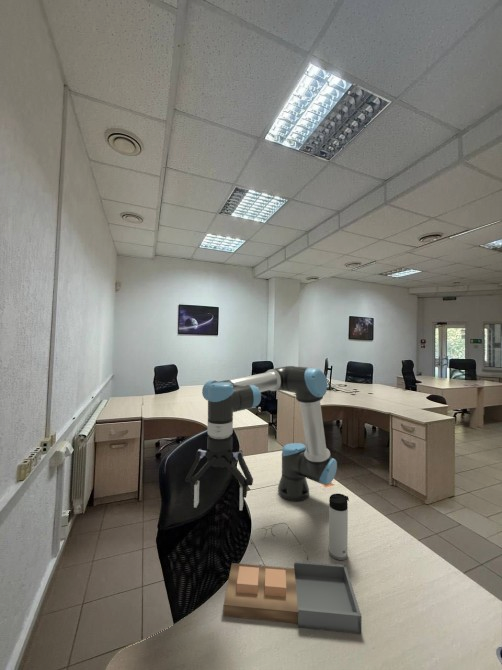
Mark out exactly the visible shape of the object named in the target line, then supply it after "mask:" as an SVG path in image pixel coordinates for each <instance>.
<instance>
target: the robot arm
mask: <svg viewBox="0 0 502 670" xmlns="http://www.w3.org/2000/svg"><path fill="white" fill-rule="evenodd" d="M327 387H328V380H327V377H326V375H325V373H324V371H322V370H321V369H320V368H315V367H306V366H295V365H288V366H287V365H286V366H280V367H276V368H272V369H268V370H267V371H265V372H262V373H258V374H253V375H248V376H242V377H235V378H230V379H225V380H220V381H219V380H218V381H217V380H208V381H206V383H204V384H203V386H202V390H201V391H202V393H201V395H202V397H203V398H204V399H205V400H206V401H207V441H206V450H203V449H202V448H199V449H198V450H197V451H196V452H195V460H194V461H193V463H192V465H191V467H190V469H189V471H188V473H187V474H186V476H185V479H184V481H185V482H186V483H190V485H191V486H190V494H191V495H194V496H193V497H194V498H193V508H197V507H198V506H199V503H200V480H199V479H200V478H201V477H202V476H203V475H204V474H205V472H206V471H208V470H209V468H210V467H211V466H212V467H213V468H223V469H224V468H225V467H226V468H227V470H229V471H230V473H232V475H233V476H234V477H235V479H236V480H237V481H238V483H239V484H240V486H239V511H243V507H244V499H245V498H246V497H247V495H248V487H249V486H250V487H251V486H253V485H254V484H253V482H254V477H253V476H252V474H251V472H250V469H249V467H248V465H247V462H246V461H245V459H244V454H243V450H239V451H234V450H233V435H232V434H233V432H234V431H233V429H234V427H233V423H234V422H233V420H234V413H236V412H241V411H245V410H250V409H253V408H255V407H257V406H259V405H260V403H261V400H262V393H263V392H266V391H271V392H276V391H284V392H290V393H294V394H295V399H296V401H297V402H298V403H300V410H301V417H302V423H303V431H304V432H303V433H304V439H305V444H306V445H305V444H303V443H299V442H291V443H287V444H285V445H283V446H282V450H281V477H280V480H279V483H278V485H277V486H278V487H277V492H279V493H278V495H279V494H280V495H281V496H282V497H281V496H280V495H279V496H280V497H281V498H282V499H284V498H285V499H284V500H287V501H290V502H300V501H304V500H307V499H308V498H309V497H310V487H309V485H308V481H307V479H309V480H312V481H313V482H315V483H318V484H322V485H324V486H329V485H330V484H332V482H333V481H334V479H335V476H336V473H337V470H338V461H337V460H336V459H335V458H333V457H332V456H331V451H330V450H329V449H328V448H327V445H326V436H325V428H324V421H323V414H322V413H323V412H322V407H321V406H322V405H321V402H322V400H323V398H324V396H325V395H326V394H327V393H326V392H327V391H328V389H327ZM204 457H205V458H206V459H207V461H206V463H205V464H204V465H203V466H202V467H200V469H199V471H198V472H197V473H196V474H194V472H195V470H196V468H197V467H198V464H199V462H200V460H201V459H203V458H204ZM233 458H235V460H237V462H238V464H239V466H240V468H241V470H239V468H238V467H237V466H236V464H235V462H234V461H233ZM241 471H242V472H241ZM193 474H194V476H193Z"/></svg>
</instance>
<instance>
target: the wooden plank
mask: <svg viewBox="0 0 502 670" xmlns="http://www.w3.org/2000/svg"><path fill="white" fill-rule="evenodd" d="M239 566H244V567H255V568H259V583H258V594H250V593H239V592H237V579H238V573H239ZM266 568H267V569H279V570H285V571H286V597H282V596H271V595H265V571H266ZM228 575H229V576H228V580H227V585H226V591H225V597H224V601H223V617H230V618H231V617H232V618H241V619H250V620H251V619H252V620H258V621H259V620H260V621H271V622H280V623H289V624H290V623H291V624H298V604H297V593H296V581H295V569H294V567H282V566H272V565H270V566H269V565H265V566H264V565H257V564H249V563H248V564H247V563H246V564H245V563H236V562H235V563H233V562H231V566H230V571H229V574H228Z"/></svg>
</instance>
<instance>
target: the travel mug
mask: <svg viewBox="0 0 502 670" xmlns="http://www.w3.org/2000/svg"><path fill="white" fill-rule="evenodd" d="M348 502H350V499H349V496H347V495H345V494H342V493H332V494H331V495H329V502H328V554H329V555H330V557H332V558H333V559H334V560H336V561H337V560H338V561H344V560H346V559H347V558H348V540H349V539H348V536H349V534H348V529H349V527H348V525H349V524H348V520H349V519H348V515H349V514H348V513H349V512H348V508H349V507H348Z"/></svg>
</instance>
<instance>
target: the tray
mask: <svg viewBox="0 0 502 670" xmlns="http://www.w3.org/2000/svg"><path fill="white" fill-rule="evenodd" d="M293 564H294V565H293V568H294V569H295V581H296V593H297V604H298V623H297V627H298V628H301V629H310V630H321V631H327V632H328V631H330V632H340V633H348V634H361V635H362V613H361V609H360V607H359V602H358V600H357V598H356V593H355V591H354V586H353V584H352V580H351V578H350V575H349V571H348V568H347V566H346V564H337V563H323V562H311V561H310V562H309V561H300V560H299V561H298V560H294V561H293Z"/></svg>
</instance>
